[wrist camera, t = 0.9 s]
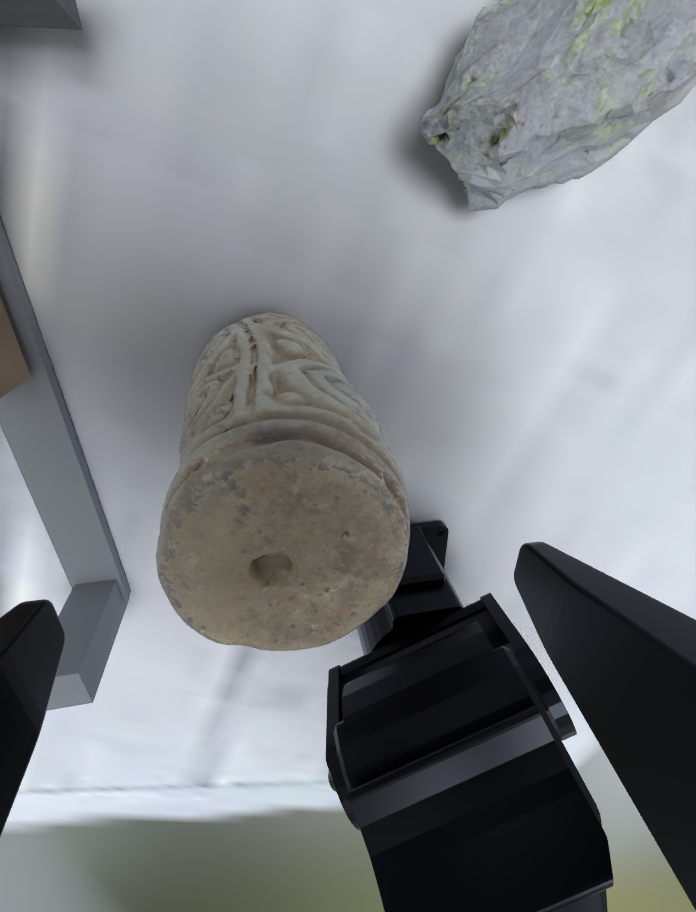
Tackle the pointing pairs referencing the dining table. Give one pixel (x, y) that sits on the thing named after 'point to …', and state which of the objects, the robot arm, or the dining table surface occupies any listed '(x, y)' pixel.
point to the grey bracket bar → (62, 502)
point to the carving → (280, 495)
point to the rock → (558, 89)
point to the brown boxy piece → (45, 7)
